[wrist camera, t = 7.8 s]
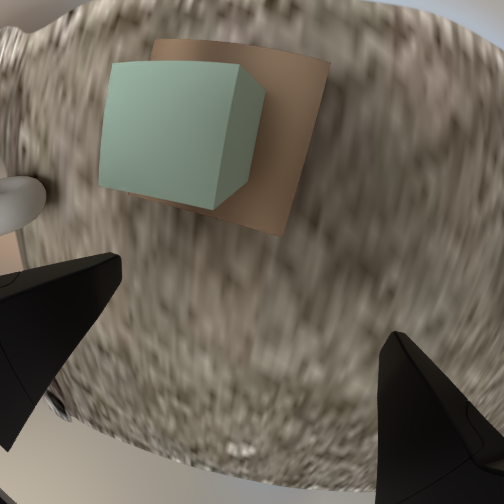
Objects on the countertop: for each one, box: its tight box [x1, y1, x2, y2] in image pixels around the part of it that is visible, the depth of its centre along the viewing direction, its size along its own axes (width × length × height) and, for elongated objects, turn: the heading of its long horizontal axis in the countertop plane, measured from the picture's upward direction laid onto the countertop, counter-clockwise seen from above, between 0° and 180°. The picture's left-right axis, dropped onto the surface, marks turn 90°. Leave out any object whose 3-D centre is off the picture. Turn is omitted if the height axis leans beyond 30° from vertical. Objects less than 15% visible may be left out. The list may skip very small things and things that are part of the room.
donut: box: [0, 176, 46, 236], centre depth 18 cm, size 10×3×10 cm, turn 80°
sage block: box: [99, 61, 266, 210], centre depth 12 cm, size 5×5×6 cm
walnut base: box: [128, 39, 331, 237], centre depth 16 cm, size 10×10×4 cm
